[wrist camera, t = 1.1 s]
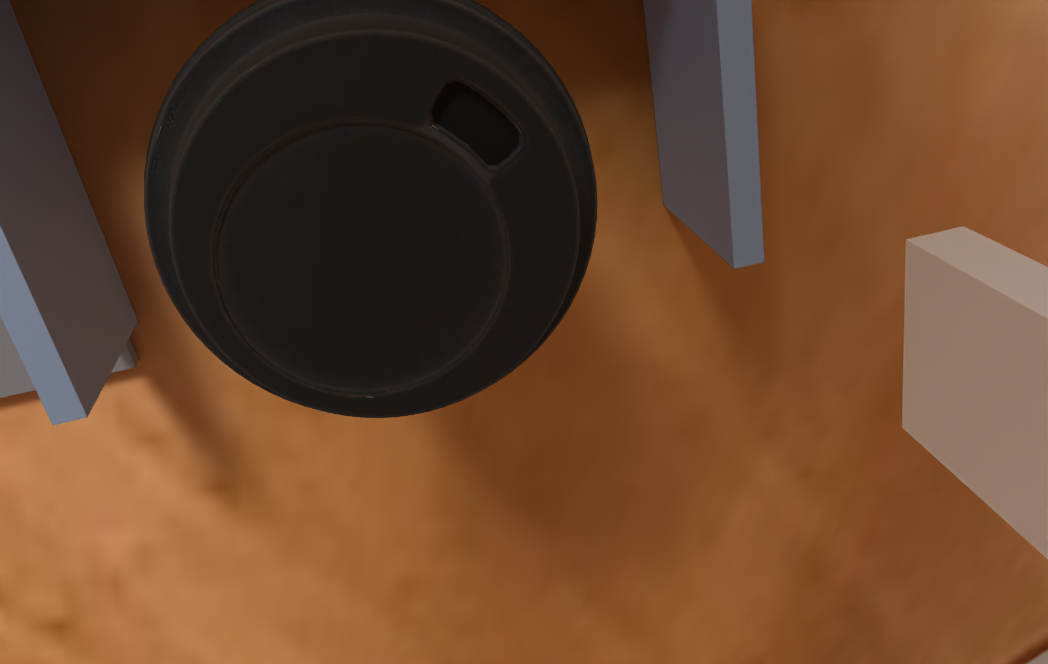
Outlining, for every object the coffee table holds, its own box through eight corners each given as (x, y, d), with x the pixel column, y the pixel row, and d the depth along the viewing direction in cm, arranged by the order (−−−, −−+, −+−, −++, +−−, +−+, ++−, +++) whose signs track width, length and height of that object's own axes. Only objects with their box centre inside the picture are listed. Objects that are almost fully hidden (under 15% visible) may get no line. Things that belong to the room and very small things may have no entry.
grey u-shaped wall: (-51, -58, 27) (-175, -51, 20) (654, -186, 28) (740, -216, 22) (110, 327, 32) (52, 425, 26) (688, 199, 34) (764, 261, 28)
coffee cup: (531, -9, 30) (677, 48, 17) (473, 251, 34) (554, 472, 20) (242, -81, 28) (139, -82, 14) (211, 207, 31) (107, 424, 18)
